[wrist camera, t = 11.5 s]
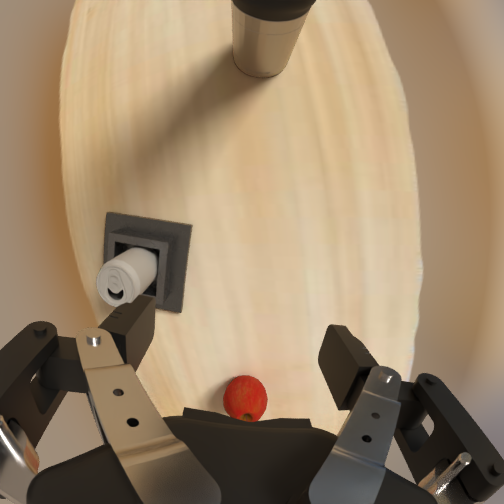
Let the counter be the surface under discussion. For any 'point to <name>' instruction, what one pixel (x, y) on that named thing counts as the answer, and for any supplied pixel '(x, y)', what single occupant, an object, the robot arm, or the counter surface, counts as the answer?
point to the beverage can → (127, 275)
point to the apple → (245, 399)
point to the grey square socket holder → (163, 243)
